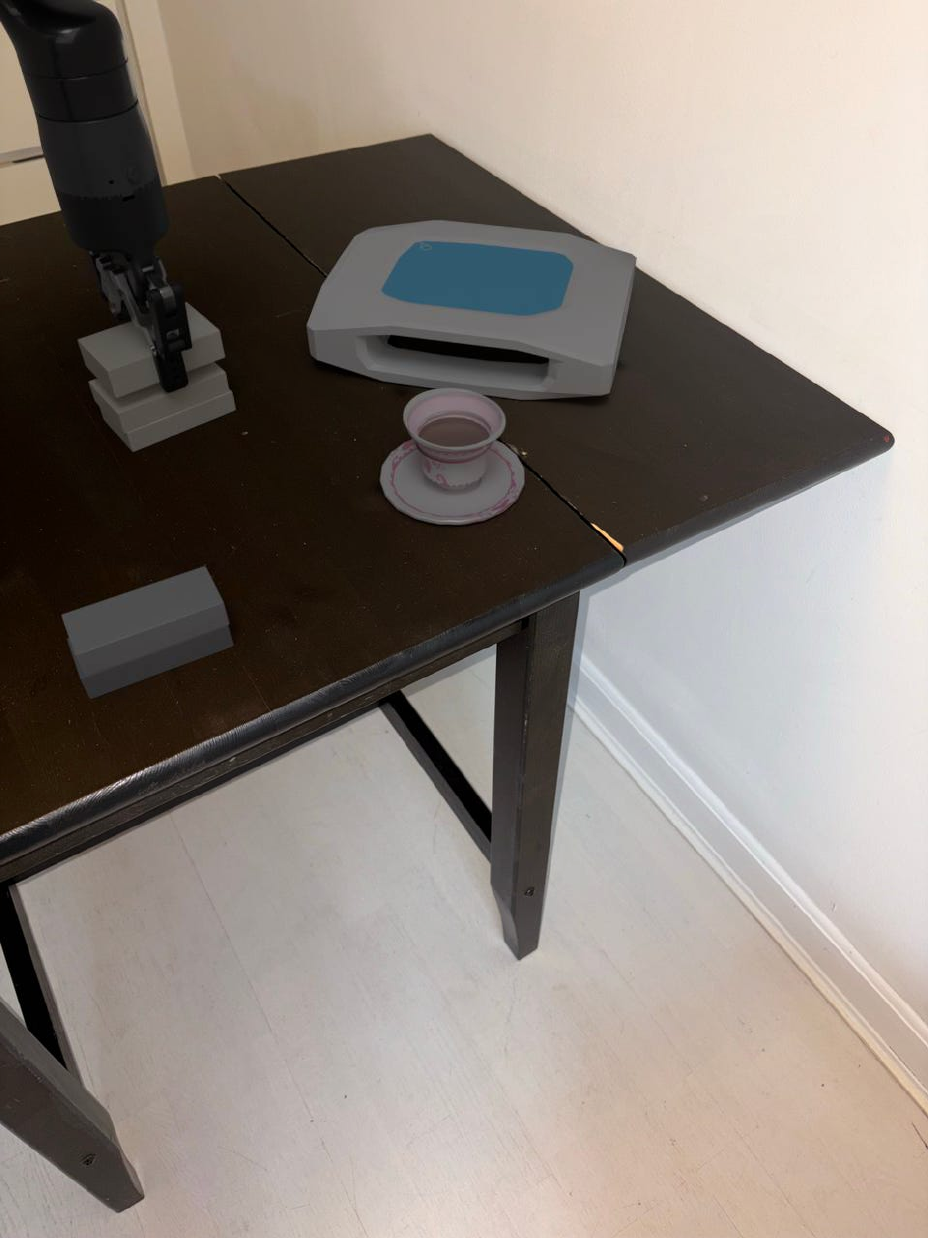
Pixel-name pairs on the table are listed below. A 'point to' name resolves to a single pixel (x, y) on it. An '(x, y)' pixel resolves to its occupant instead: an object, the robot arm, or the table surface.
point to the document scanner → (476, 308)
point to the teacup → (452, 460)
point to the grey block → (165, 407)
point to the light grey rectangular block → (144, 353)
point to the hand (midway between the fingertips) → (158, 370)
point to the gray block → (147, 631)
